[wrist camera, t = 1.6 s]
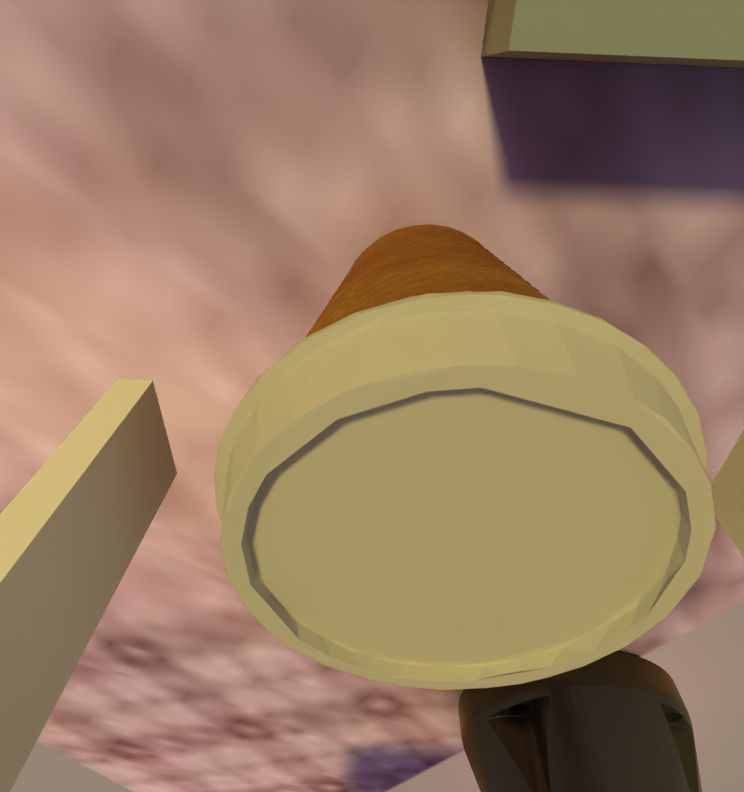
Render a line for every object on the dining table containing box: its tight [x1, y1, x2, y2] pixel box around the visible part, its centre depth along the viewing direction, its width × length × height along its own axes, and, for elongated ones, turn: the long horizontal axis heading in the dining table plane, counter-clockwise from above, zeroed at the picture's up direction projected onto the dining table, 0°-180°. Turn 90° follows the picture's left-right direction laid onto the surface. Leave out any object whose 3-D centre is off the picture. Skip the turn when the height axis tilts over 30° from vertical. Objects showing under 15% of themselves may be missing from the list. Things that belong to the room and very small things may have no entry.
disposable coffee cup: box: [214, 225, 716, 690], centre depth 14 cm, size 10×10×12 cm
